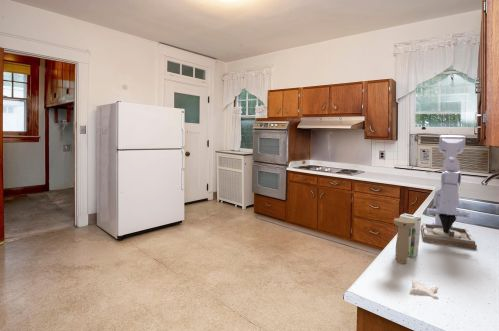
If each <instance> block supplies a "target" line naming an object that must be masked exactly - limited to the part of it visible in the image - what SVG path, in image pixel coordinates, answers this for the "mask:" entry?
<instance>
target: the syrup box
mask: <svg viewBox="0 0 499 331" xmlns="http://www.w3.org/2000/svg"><path fill="white" fill-rule="evenodd" d="M398 218H402V219H409V220H413V221H415V226H414V227H411V228H410V229H409V252H408V257H410V258H414V257H416V255H418V254H419V247H420V246H419V245H420V234H421V232H420V231H421V223H422V221H421V220H422V216H420V215H419V216H418V215H414V214H409V213H402V214H400V215H399V217H398Z"/></svg>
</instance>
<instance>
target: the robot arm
mask: <svg viewBox="0 0 499 331" xmlns="http://www.w3.org/2000/svg"><path fill="white" fill-rule="evenodd" d="M465 146H466V136H465V135H443V134H442V135H440V136H439V141H438V151H439V153H441V154H442V155H443V157H444V160H443V162H442V163H443V165H442V172H441V176H440V187H438V188H437V189H436V190H435V191H434V195H433V196H434V197H433V206H434V207H435V208H427V209H426V214H427V215H435V219H434V220H432V222H433V223H432V224H433V225H441V226H443V232H444V233H448V232H449V229H450V227H455V226H454V223H455V222H456V220H457V217H460V218H468V219H469V218H470V212H468V211H462V210H457V209H458V207H459V202H460V200H459V199H460V197H459V195H460V194H459V187H460V186H461V182H462V172H461V170H460V167H461V166H460V160H459V159H457V158H458V155H460V154H462V153H463V152H464V150H465Z"/></svg>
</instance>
